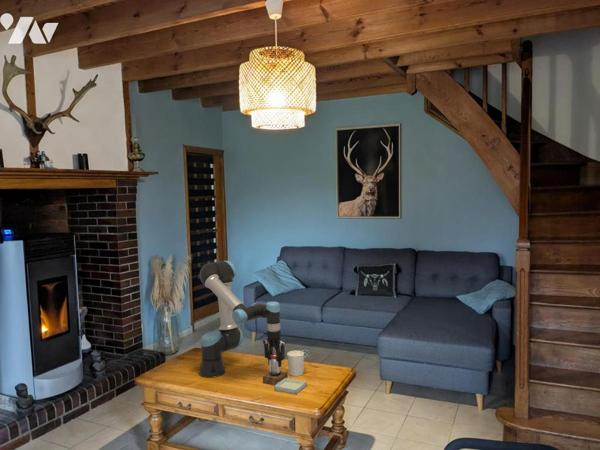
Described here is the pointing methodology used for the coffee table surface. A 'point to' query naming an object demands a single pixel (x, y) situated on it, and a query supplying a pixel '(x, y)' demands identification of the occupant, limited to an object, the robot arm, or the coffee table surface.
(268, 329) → the robot arm
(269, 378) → the socket block
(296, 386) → the tray
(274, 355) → the pin
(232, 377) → the coffee table surface
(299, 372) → the candle holder
